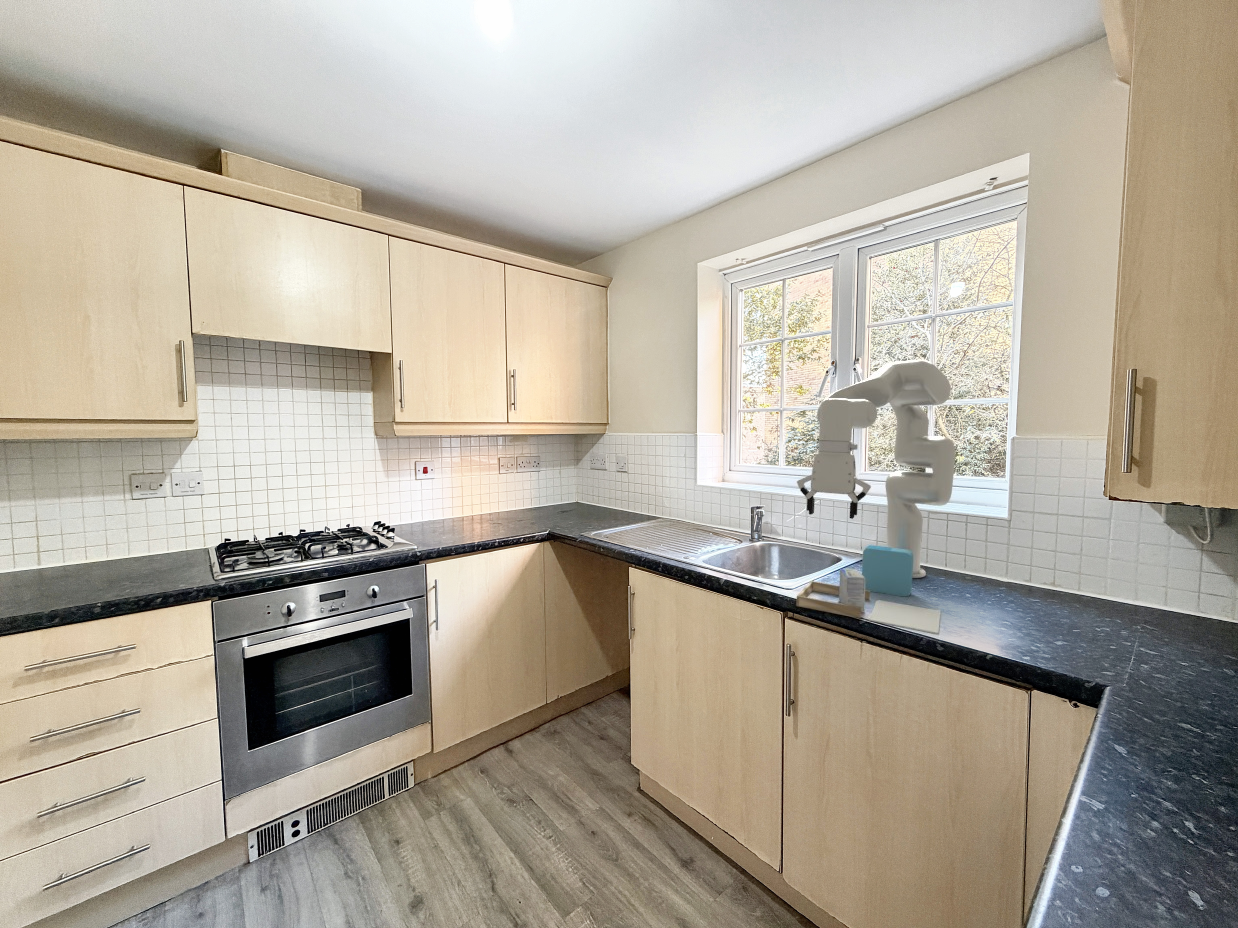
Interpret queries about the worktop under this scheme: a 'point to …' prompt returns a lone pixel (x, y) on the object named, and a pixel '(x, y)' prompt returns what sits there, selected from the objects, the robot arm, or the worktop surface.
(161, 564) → the worktop surface
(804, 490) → the robot arm
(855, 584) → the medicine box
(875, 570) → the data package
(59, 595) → the worktop surface
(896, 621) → the cream flat board
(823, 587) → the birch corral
